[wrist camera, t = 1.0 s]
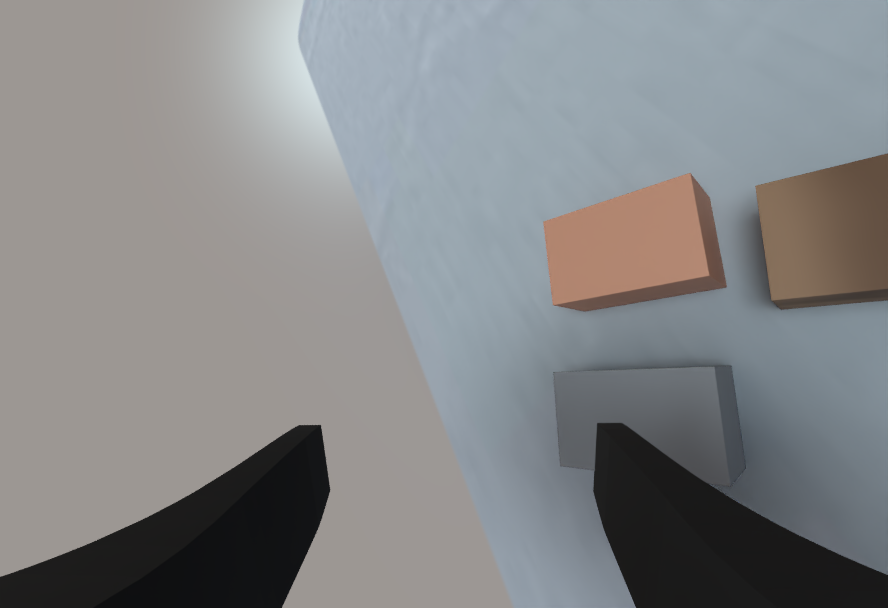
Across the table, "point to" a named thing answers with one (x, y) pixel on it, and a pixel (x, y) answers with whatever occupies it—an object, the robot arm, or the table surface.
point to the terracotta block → (635, 248)
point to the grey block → (655, 416)
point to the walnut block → (827, 235)
